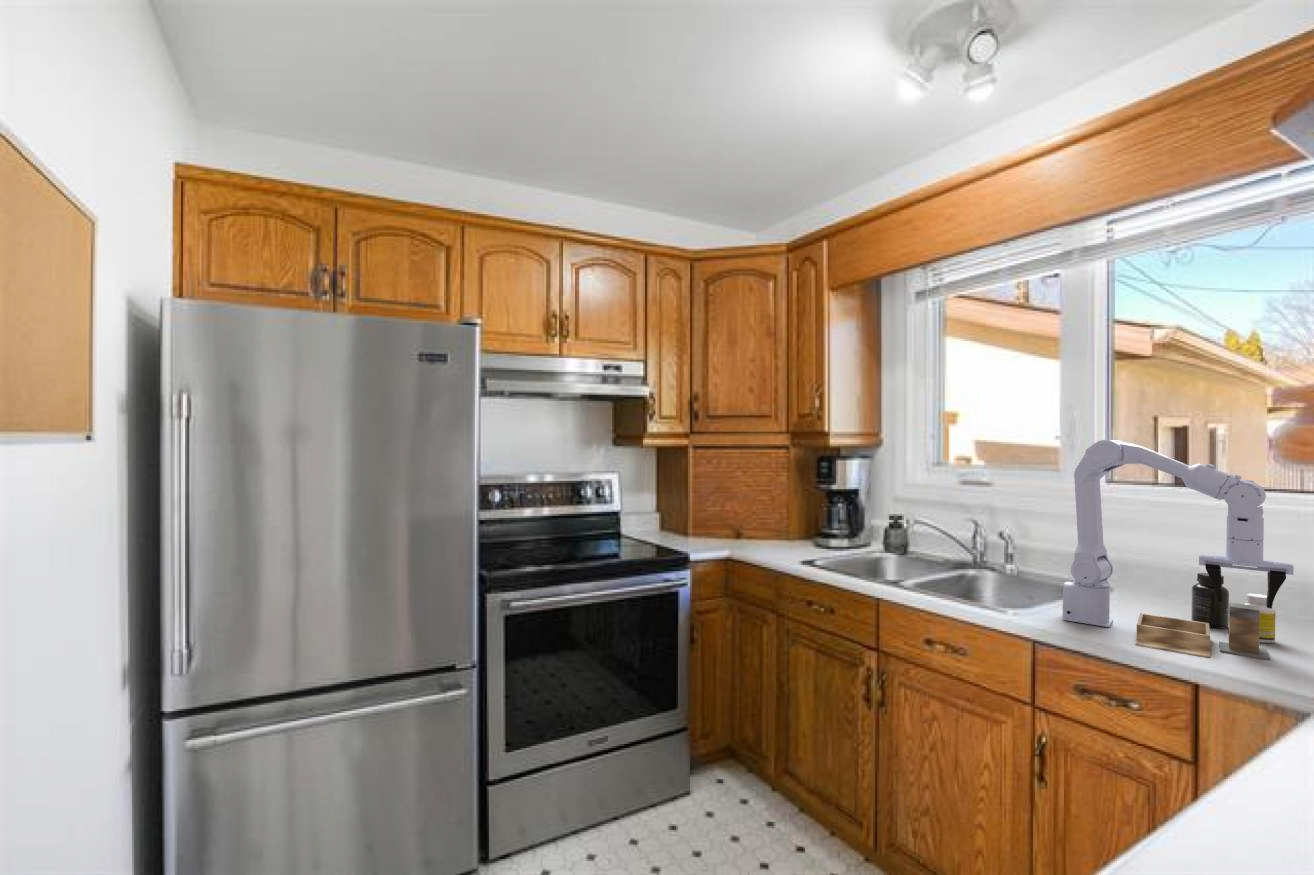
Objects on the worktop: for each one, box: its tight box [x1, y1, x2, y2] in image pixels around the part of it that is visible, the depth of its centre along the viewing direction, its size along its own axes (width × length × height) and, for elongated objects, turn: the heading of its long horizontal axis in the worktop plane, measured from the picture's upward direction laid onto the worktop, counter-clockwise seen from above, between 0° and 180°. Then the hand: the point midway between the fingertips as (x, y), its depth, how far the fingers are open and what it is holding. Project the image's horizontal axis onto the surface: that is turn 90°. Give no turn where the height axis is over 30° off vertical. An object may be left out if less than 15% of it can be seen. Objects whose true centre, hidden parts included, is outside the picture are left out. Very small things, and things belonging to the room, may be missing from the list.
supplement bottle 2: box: [1244, 593, 1276, 644], centre depth 142 cm, size 5×5×10 cm
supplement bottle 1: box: [1191, 572, 1230, 629], centre depth 154 cm, size 7×7×12 cm
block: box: [1228, 602, 1260, 655], centre depth 134 cm, size 4×4×9 cm
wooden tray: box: [1134, 612, 1211, 658], centre depth 142 cm, size 12×20×4 cm, turn 140°
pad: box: [1218, 641, 1271, 661], centre depth 134 cm, size 8×8×1 cm
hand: (1243, 604), depth 134 cm, fingers open, 7 cm apart
